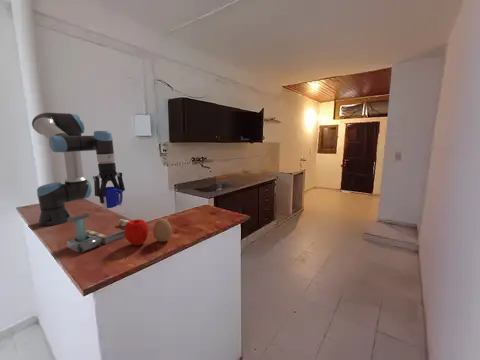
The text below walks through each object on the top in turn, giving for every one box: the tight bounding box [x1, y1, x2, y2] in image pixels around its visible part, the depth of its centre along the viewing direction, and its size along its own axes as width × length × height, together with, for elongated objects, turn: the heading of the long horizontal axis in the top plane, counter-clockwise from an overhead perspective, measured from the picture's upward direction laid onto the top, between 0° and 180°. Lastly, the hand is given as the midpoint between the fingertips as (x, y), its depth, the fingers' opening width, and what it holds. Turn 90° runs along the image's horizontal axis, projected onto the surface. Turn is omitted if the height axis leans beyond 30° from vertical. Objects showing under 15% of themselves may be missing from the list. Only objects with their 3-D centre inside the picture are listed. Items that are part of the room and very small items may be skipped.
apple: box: [124, 218, 149, 246], centre depth 106 cm, size 10×10×12 cm
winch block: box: [66, 233, 102, 253], centre depth 106 cm, size 13×9×4 cm
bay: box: [85, 218, 130, 245], centre depth 121 cm, size 18×20×3 cm
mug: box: [104, 186, 123, 209], centre depth 118 cm, size 8×12×10 cm
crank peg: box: [67, 213, 90, 242], centre depth 106 cm, size 3×8×13 cm, turn 150°
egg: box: [152, 217, 173, 243], centre depth 109 cm, size 8×8×11 cm
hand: (112, 206), depth 118 cm, fingers closed on mug, 7 cm apart
